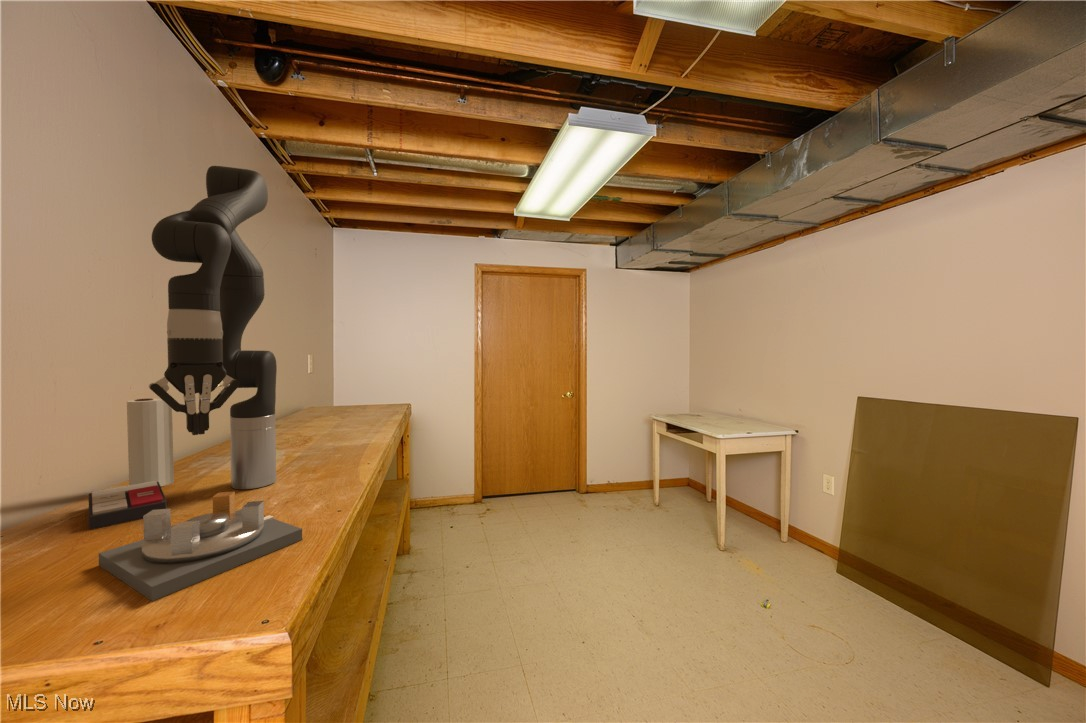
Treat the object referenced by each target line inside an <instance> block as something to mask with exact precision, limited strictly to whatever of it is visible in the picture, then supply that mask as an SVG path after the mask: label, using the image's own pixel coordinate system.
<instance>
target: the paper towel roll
mask: <svg viewBox="0 0 1086 723" xmlns="http://www.w3.org/2000/svg"><path fill="white" fill-rule="evenodd" d="M126 422H127V450H128V451H127V452H128V456H127V457H128V458H127V459H128V485H134V484H140V483H146V482H152V481H156V482H159V484H160V486H161V487H164V486H168V485H174V483H175V475H174V474H175V473H174V472H175V471H174V467H175V466H174V437H173V436H174V435H173V433H174V432H173V431H174V430H173V409H172V408H171V407H170V406H169V405H168V404H167V403H165V402H164V401H163V400H162V399H161V398H137V399H132V400H127V401H126Z"/></svg>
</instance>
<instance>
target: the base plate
mask: <svg viewBox="0 0 1086 723" xmlns="http://www.w3.org/2000/svg"><path fill="white" fill-rule="evenodd" d="M235 513H242V508H240V509H238V510H235ZM302 540H303V528H301V527H298V526H296V525H293V524H290V523H287V522H284V521H282V520H279V519H276V518H275V517H274V516H273V515H265V514H264V529H263V531H262V533H261V534H260V535H259V536H258V537H256V538H255V539H254V540H252V541H250V542H248V543H247V544H245V545H242V546H240V547H238V548H235V549H233V550H230V551H227V552H224V553H221V554H218V555H214V556H210V557H206V558H202V559H197V560H191V561H184V562H174V563H159V562H152V561H148V560H146V559H144V558H143V556H142V544H143V542H144V538H143V539H140V540H137V541H133V542H131V543H128V544H124V545H121V546H117V547H114V548H110V549H108V550H107V549H106V550H105V551H102V552H98V567H101V568H102V569H104V570H105V571H106V572H108V573H109V572H110V573H109V574H111V575H112V574H113V575H112V576H114V577H115V578H117V579H118V580H120V581H121V580H122V581H121V582H123V583H124V584H126V585H127V586H129V587H130V588H132V589H133V590H135V591H136V592H138V593H139V594H141V595H143V596H144V597H145V598H147V599H149V600H150V601H151V602H155V601H156V600H159V599H161V598H164V597H166V596H169V595H171V594H173V593H176V592H178V591H181V590H184V589H186V588H188V587H190V586H193V585H195V584H198V583H201V582H202V581H205V580H207V579H210V578H213V577H215V576H217V575H220V574H222V573H224V572H227V571H230V570H232V569H234V568H237V567H240V566H242V565H244V564H246V563H249V562H251V560H252V561H254V560H256V559H259V558H262V557H264V556H266V555H269V554H271V553H273V552H276V551H278V550H280V549H281V550H282V549H283V548H286V547H288V546H290V545H293V544H295V543H298V542H300V541H302ZM241 564H242V565H241ZM239 565H240V566H239Z"/></svg>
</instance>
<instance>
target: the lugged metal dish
mask: <svg viewBox="0 0 1086 723" xmlns="http://www.w3.org/2000/svg"><path fill="white" fill-rule="evenodd" d="M264 503H265V502H264V500H255V501H247V502H246V503H245V504H244V505H243V506H242V507H241V509H242V513H235V511H236V491H224V492H223V491H222V492H217V493H216V494H214V495H213V496H212V512H211V513H204V514H200V515H197V516H194V517H191V518H188V519H187V520H186V521H185V520H184V521H179V522H178V523H175V524H173V525H172V524H171V523H172V522H171V520H172V518H171V508H167V509H158V510H152V511H150V512H149V513H147V514H146V515H144V516H143V519H142V522H143V524H142V525H143V526H142V527H143V529H142V530H143V539H144V542H143V544H142V556H143V558H144V559H146V560H148V561H152V562H159V563H174V562H184V561H191V560H197V559H202V558H206V557H210V556H214V555H218V554H221V553H224V552H227V551H230V550H233V549H235V548H238V547H240V546H242V545H245V544H247V543H248V542H250V541H252V540H254V539H255V538H256V537H258V536H259V535H260V534H261V533H262V531H263V529H264V515H265V511H264V510H265V507H264V506H265V505H264Z"/></svg>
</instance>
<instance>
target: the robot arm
mask: <svg viewBox="0 0 1086 723" xmlns="http://www.w3.org/2000/svg"><path fill="white" fill-rule="evenodd" d="M267 186H268V185H267V182H266V180H265V178H264V176H263V175H262V174H261V173H259V172H257V171H255V170H251V169H246V168H239V167H231V166H223V165H211V166H209V167H208V168H207V170H206V174H205V187H206V193H207V194H206V195H207V197H205V198H203V199H201V200H200V201H198V202H197V203H195V205H194V206H193V207H192V208H190V209H189V210H184V211H181V212H178V213H173V214H170V215H168V216H166V217H164V218H162V219H160V220H159V221H158V222H157V223H156V225H154V227H153V229H152V232H151V243H152V245H153V248H154V249H155V251H156V252H157V253H158V255H160V256H161V257H162V258H164V259H165V260H168V261H171V262H177V263H178V262H179V263H195V264H201V265H200V266H199V268H198V270H196V271H194V272H192V273H187V274H179V275H175V276H171V277H170V278H169V279H168V284H167V293H168V294H167V299H168V302H167V303H168V314H167V319H166V320H167V321H166V334H167V338H166V340H167V344H166V345H167V368H166V370H165V371H164V373H163V375H164V376H163V377H161V378H160V379H158V380H157V381H155V382H151V383H149V384H148V388H149V389H150V390H151V391H152V392H153V393H154V394H155V395H157V397H158V398H159V399H161V400H163V401H164V402H165V403H167V404H168V405H169V406H170V407H171V408H172V411H174V412H177V413H184V414H185V416H186V417H185V418H186V423H185V424H186V430H187V432H188V433H191V435H192V436H197V435H200V436H201V435H205V432H206V431H208V430H209V429H210V413H211V411H213V410H216V409H221V407H222V406H224V404H225V403H226V401H227V400H228V399H229V398H230V397H231V396H232V395H233V394H234V393H235V391H236V390H237V389H248V388H249V389H250V388H251V389H253V388H254V389H255V388H256V389H257V390H256V393H255V394H254V395H253V396H252V397H250V398H248V399H245V400H242V401H239V402H236V403H233V404H232V405H231V406H230V410H229V416H230V419H229V421H230V422H229V423H230V424H229V425H230V481H231V488H233V489H235V490H250V489H252V490H253V489H257V488H264V487H267V486H269V485H270V486H271V485H272V484H274V483H276V481H277V446H276V445H277V444H276V442H277V441H276V439H277V438H276V392H277V391H276V390H277V389H276V388H277V373H278V372H277V367H278V366H277V359H276V357H275V354H274V353H273V351H271V350H247V349H246V350H245V349H244V350H242V339H243V334H244V332H245V329H246V327H247V325H248V324H249V322H250V321H251V320H252V318H253V317H254V315H255V314H256V312H257V311H258V309H259V308H260V307H261V305H262V303H263V301H264V299H265V278H264V270H263V266H261V264H260V262H259V260H258V259H257V258H256V256H255V254H253V252H252V251H251V250H250V249H249V248H248V246H247V245H246V243H245V242H244V241H243V240H242V237H241V236H240V234H239V232H238V231H237V230H236V228H238V226H239V225H240V224H242V223H244V222H245V221H247V220H249V219H250V218H252V217H254V216H256V215H258V214H259V213H262V211H264V210H265V208H266V206H267V204H268V201H269V192H268V187H267ZM168 383H170V384H171V385H172V386H173V388H174V389H176V390H177V391H178V392H179V393H180V394H183V395H182V396H183V402H184V404H182V403H180V402H178V401H177V400H176V399H175V398H174V397H173V396H172V395H171V394H169V392H168V391H170V390H169V389H170V386H169V385H168ZM221 383H222V387H223V389H222V390H221V391H220V392H218V394H217V395H216V397H214V398H213V400H212V401H211V398H212V396H211V394H212V392H214V391H215V390H216V389H217V388H218V386H219V385H221ZM196 394H198V409H197V406H196V405H197V404H196ZM197 410H198V412H197Z"/></svg>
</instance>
